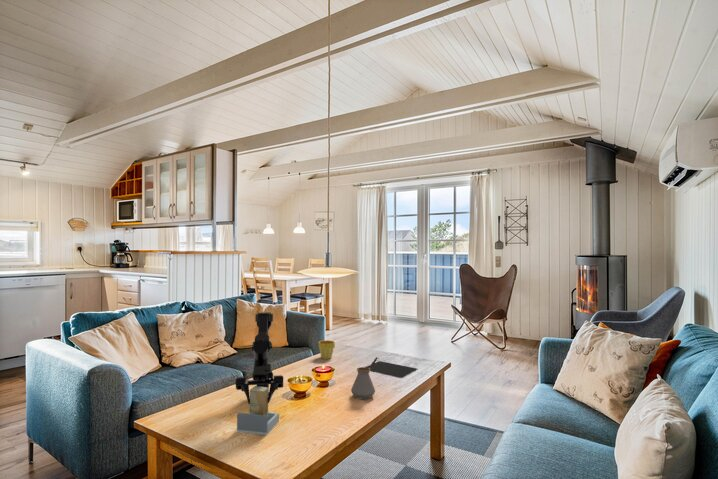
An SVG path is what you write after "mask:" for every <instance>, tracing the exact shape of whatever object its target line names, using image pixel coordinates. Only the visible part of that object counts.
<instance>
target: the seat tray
mask: <svg viewBox="0 0 718 479" xmlns="http://www.w3.org/2000/svg"><path fill="white" fill-rule="evenodd" d="M236 415H237V416H236V433H240V432H242V433H244V434H249V433H250V435H259V436H268V435H269V433H270V432H271V431H272V430H273V429H274V428H275V427H276V425H277V424H279V423H280V422H279V421H280V413H279V412H275V411H274V412H271V411H268V416H267V415H257V414H249V412H248V413H246V412H237V414H236ZM274 426H275V427H274ZM242 433H241V434H242Z"/></svg>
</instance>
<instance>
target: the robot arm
mask: <svg viewBox="0 0 718 479" xmlns="http://www.w3.org/2000/svg"><path fill="white" fill-rule="evenodd" d="M254 318H255V319H254V322H255V323H256V327H257V328H258V329H257V334H256V335H255V336H254V341H253V342H252V344H251V345H252V346H251V351H252V352H253V357H254V359H253V360H254V361H253V369H252V379H247V376H239V377H236V378H235V390H237V391H239V390H240V391H241V392H244V394H245V397H246V399H247V400H246V401H247V404H248V405H250V386H259V387H267V388H269V395H268V404H270V403H271V402H270V401H271V399H272V397H273V395H274V393H275V391H277V390H279V388H284V376H283V374H282V375H281V374H279V375H274V373H273V370H272V363H269V352H270V351H271V350H273V343H272V341H271V340H270V335H269V330H270V329H271V327H272V323H273V322H274V313H271V312H270V311H269V312H268V311H267V312H266V311H264V312H258V313H256V314H255V316H254Z"/></svg>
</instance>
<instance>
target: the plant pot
mask: <svg viewBox="0 0 718 479" xmlns="http://www.w3.org/2000/svg"><path fill="white" fill-rule="evenodd" d="M335 344H336V343H335V341H333V340H325V339H323V340H319V341H318V348H319V353H320V358H321V359H324V360H326V359H327V360H328V359H329V358H330V359H331V358H333V357H332V356H333V352H334V349H335V347H336V346H335Z"/></svg>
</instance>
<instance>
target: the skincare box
mask: <svg viewBox="0 0 718 479" xmlns="http://www.w3.org/2000/svg"><path fill="white" fill-rule="evenodd" d="M269 390H270V387H269V388H267V387H259V386H256V385H253V387H251V388H249V396H250V404H249V406H248V407H249V408H248V409H249V412H248V413H249V414H257V415H267V416H268V412H269V403H268V397H269V396H268V395H269Z"/></svg>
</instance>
